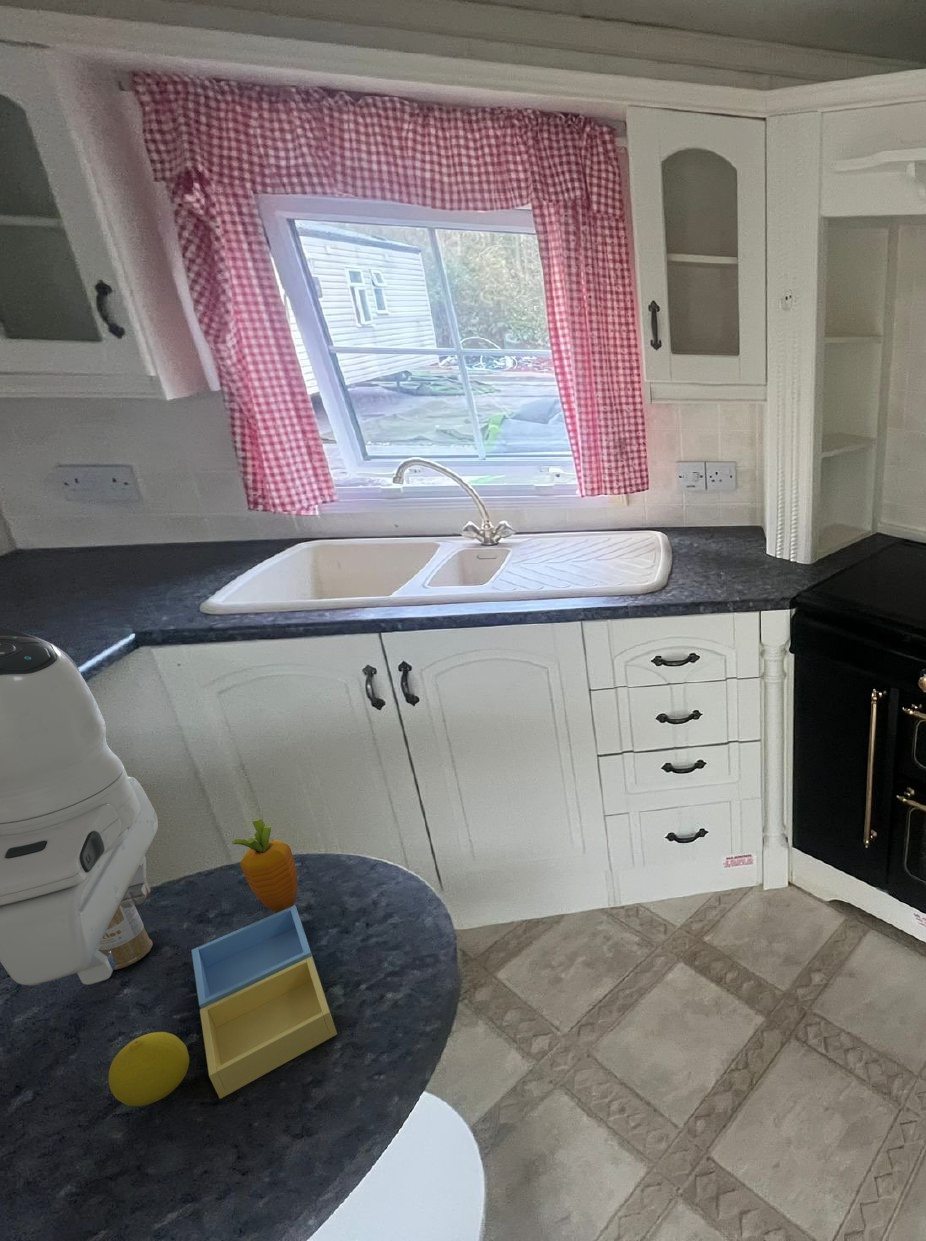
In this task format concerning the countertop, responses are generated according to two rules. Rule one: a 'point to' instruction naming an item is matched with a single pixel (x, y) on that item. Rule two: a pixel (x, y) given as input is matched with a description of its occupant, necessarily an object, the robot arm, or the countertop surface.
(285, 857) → the carrot
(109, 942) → the sprinkles bottle
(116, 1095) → the lemon
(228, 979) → the blue bin
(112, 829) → the robot arm
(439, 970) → the countertop surface
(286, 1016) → the yellow bin
